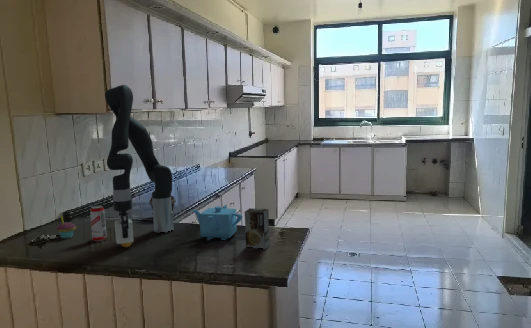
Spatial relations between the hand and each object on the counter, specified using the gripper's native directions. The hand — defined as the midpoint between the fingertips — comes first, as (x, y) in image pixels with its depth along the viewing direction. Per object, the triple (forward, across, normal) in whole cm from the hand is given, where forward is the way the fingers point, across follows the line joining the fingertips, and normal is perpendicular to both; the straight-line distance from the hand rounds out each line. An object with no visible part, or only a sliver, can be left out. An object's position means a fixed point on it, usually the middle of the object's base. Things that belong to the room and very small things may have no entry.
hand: (124, 235), depth 176 cm
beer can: (+5, +18, +10) cm, 21 cm away
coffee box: (+5, -28, -52) cm, 59 cm away
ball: (+3, 0, 0) cm, 3 cm away
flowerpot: (+5, +47, -26) cm, 54 cm away
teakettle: (+5, -7, -40) cm, 41 cm away
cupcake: (+5, +31, +24) cm, 40 cm away
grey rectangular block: (+2, 0, 0) cm, 2 cm away
